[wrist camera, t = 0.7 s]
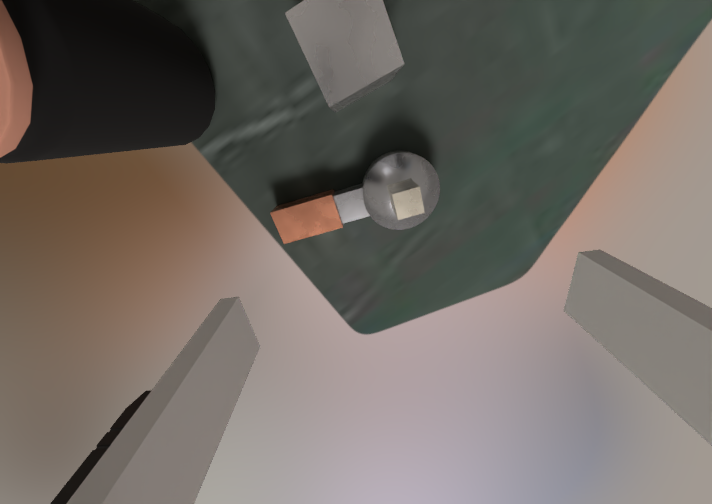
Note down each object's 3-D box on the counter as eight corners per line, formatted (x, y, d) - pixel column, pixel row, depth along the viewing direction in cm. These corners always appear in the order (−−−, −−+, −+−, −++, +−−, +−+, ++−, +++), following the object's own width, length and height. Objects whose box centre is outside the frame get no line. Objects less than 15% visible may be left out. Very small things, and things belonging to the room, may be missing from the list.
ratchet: (425, 140, 28) (446, 144, 22) (436, 210, 31) (458, 231, 25) (269, 188, 30) (247, 205, 24) (295, 249, 33) (282, 278, 27)
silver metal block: (305, 46, 24) (284, 12, 17) (363, 9, 23) (368, -43, 16) (335, 112, 27) (329, 107, 19) (389, 81, 26) (404, 63, 18)
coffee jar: (88, 10, 23) (-543, -268, 7) (211, 21, 23) (-105, -214, 7) (125, 141, 28) (-200, 162, 11) (228, 149, 28) (56, 179, 12)
